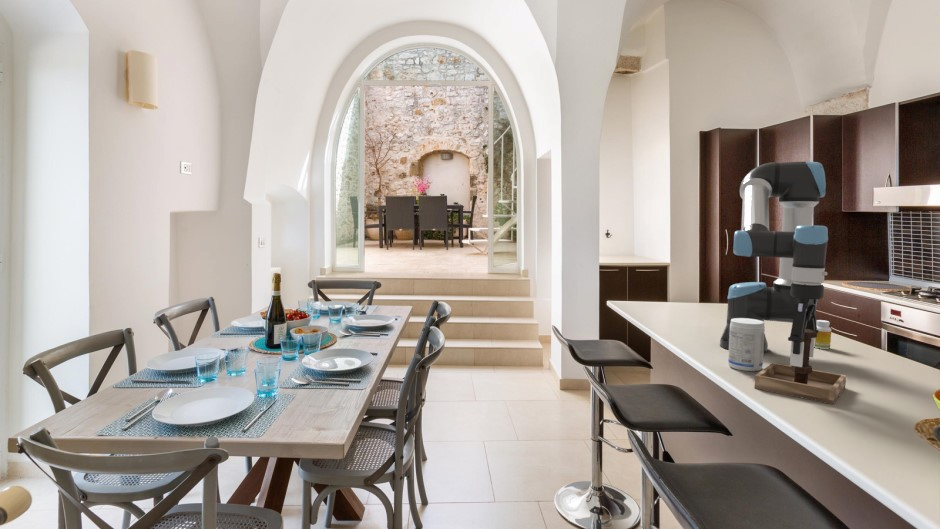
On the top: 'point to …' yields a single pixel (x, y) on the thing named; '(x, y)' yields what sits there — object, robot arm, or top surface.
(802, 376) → the bolt
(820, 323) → the supplement bottle
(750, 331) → the supplement tub
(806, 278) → the robot arm
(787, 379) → the tray
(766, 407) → the top surface
